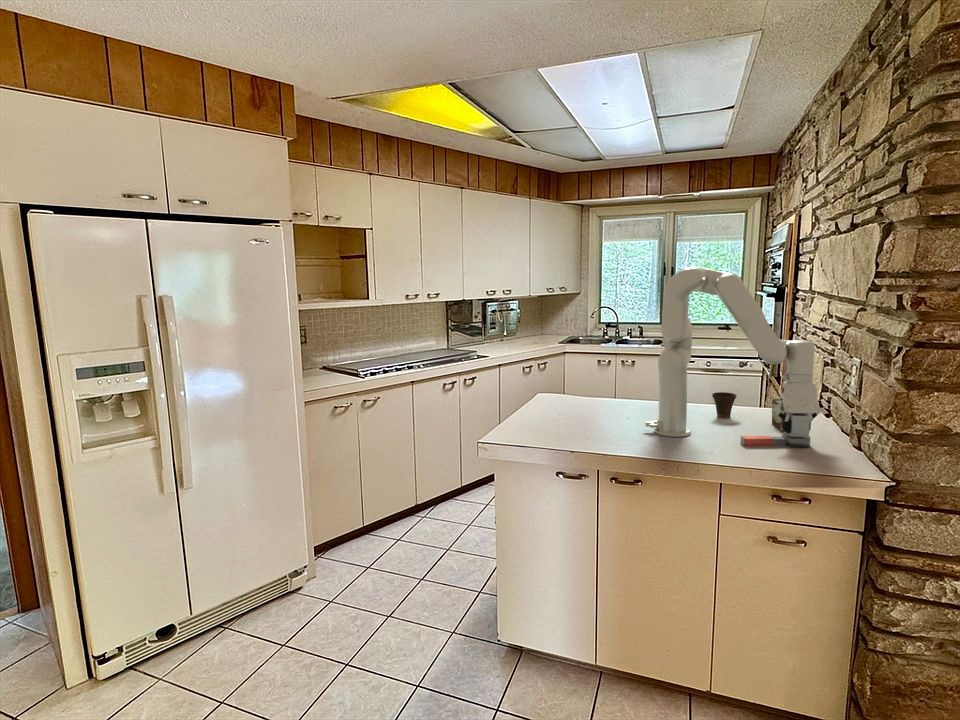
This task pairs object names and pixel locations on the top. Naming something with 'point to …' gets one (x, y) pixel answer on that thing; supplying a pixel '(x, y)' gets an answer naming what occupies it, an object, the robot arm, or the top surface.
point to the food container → (776, 416)
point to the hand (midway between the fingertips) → (796, 431)
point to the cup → (724, 403)
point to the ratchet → (776, 441)
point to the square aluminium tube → (799, 425)
